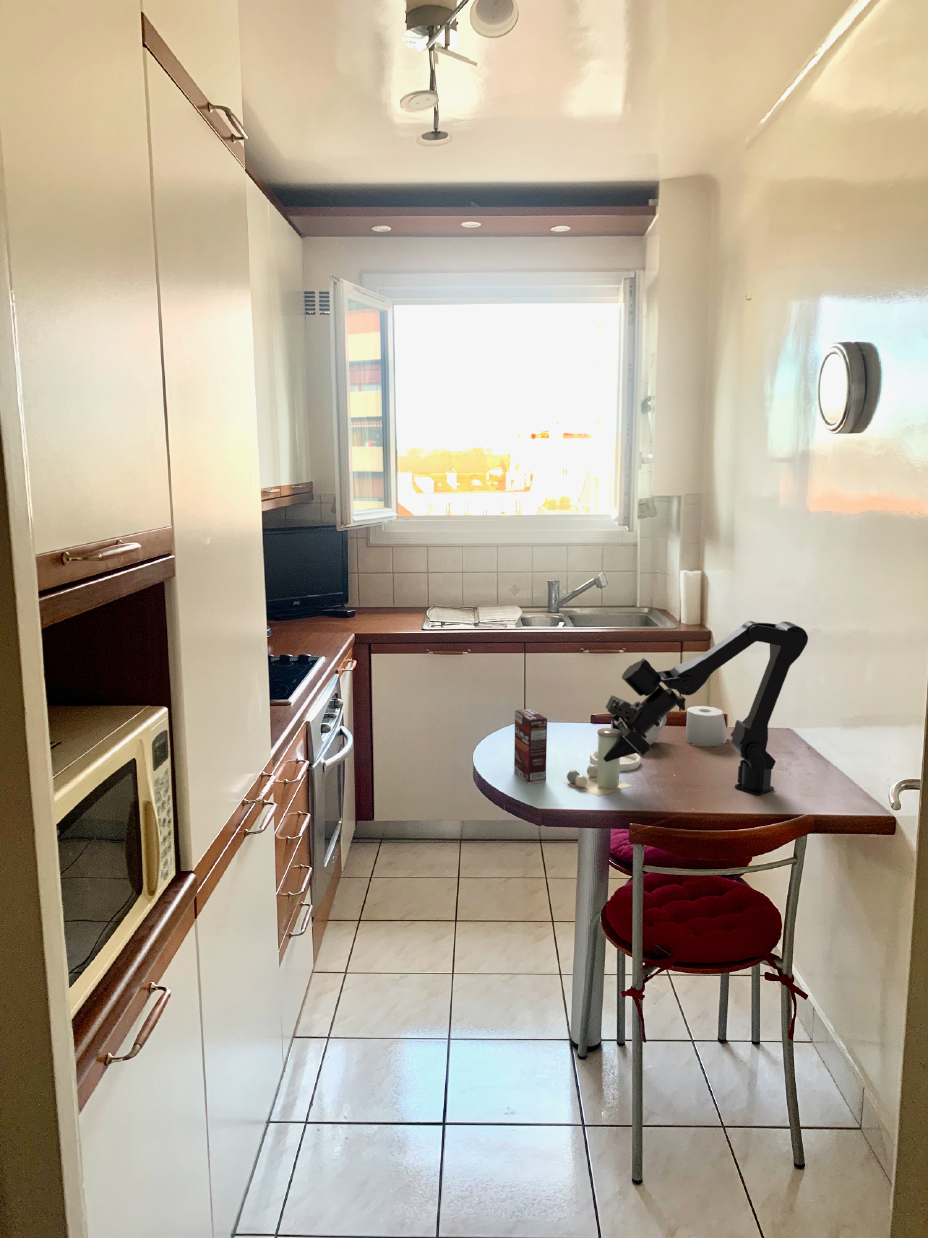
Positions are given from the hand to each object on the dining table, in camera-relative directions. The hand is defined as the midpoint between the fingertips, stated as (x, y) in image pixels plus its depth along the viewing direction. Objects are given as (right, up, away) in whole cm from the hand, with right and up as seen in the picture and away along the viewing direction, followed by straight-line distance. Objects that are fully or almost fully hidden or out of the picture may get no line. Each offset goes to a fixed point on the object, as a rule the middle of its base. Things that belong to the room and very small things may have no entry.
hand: (602, 756), depth 200 cm
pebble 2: (-5, -7, +1) cm, 9 cm away
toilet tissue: (+34, -2, +37) cm, 50 cm away
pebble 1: (-6, -7, +4) cm, 10 cm away
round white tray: (+6, -5, +18) cm, 19 cm away
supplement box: (-16, -7, +7) cm, 19 cm away
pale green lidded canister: (+1, -7, +1) cm, 7 cm away
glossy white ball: (-1, -6, +8) cm, 10 cm away
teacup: (+17, -2, +35) cm, 39 cm away
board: (-1, -7, +3) cm, 8 cm away
